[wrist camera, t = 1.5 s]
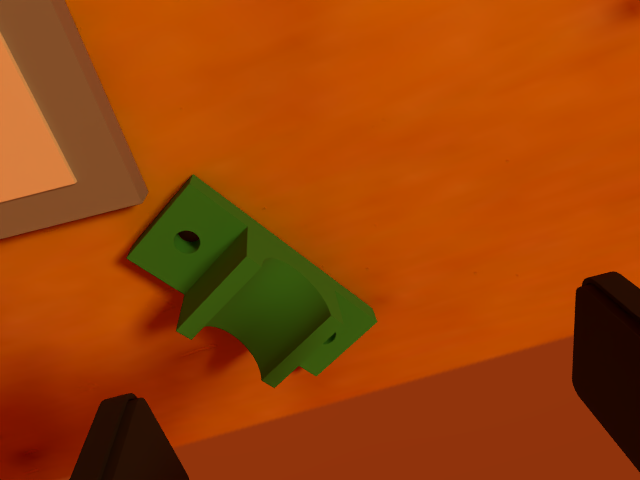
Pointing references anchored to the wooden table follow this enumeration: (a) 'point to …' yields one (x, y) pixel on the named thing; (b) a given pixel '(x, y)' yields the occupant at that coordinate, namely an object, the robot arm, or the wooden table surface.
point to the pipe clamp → (249, 285)
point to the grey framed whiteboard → (56, 125)
